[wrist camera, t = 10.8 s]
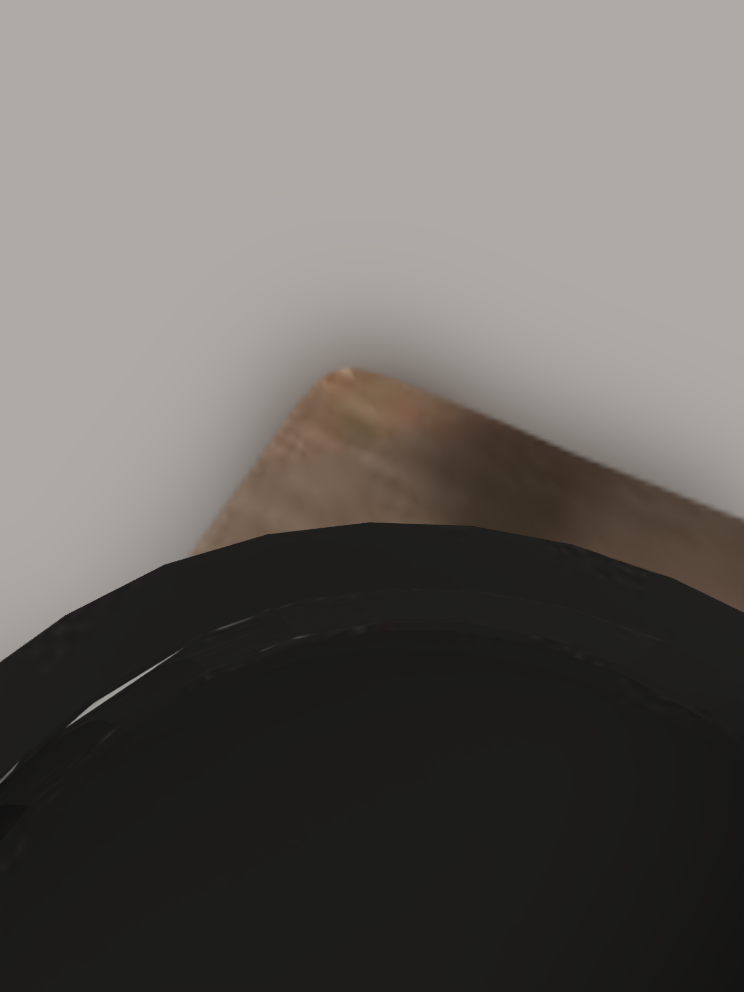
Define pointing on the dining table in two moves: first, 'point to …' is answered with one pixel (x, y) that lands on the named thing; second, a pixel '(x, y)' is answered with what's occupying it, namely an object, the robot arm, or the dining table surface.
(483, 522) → the dining table surface
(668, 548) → the dining table surface
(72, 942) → the coffee cup
